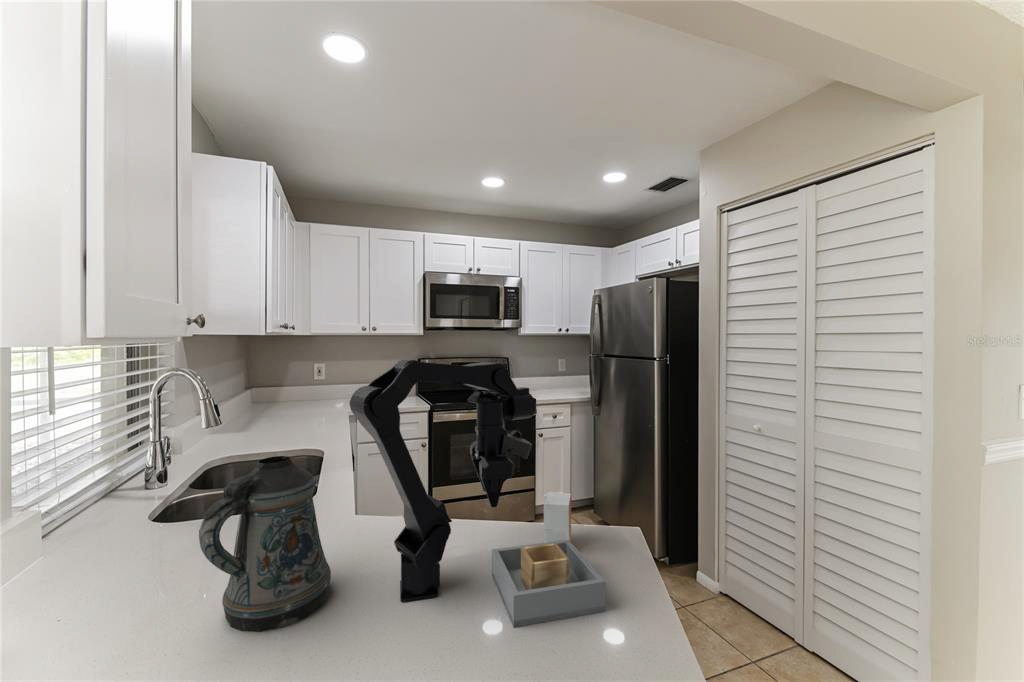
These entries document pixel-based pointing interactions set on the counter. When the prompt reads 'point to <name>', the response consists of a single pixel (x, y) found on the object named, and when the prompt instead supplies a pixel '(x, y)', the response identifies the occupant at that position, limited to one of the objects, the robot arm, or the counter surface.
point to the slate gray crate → (547, 588)
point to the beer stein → (269, 547)
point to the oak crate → (544, 566)
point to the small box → (557, 517)
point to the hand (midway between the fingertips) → (490, 498)
